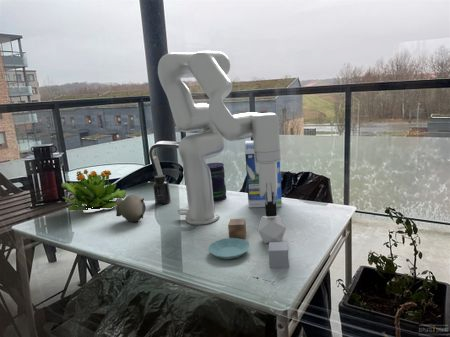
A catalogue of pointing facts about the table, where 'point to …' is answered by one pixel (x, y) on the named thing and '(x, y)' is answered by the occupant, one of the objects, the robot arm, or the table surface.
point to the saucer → (229, 248)
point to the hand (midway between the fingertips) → (271, 215)
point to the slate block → (278, 255)
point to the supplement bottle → (161, 190)
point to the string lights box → (253, 179)
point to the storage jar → (218, 181)
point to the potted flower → (93, 191)
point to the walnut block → (237, 228)
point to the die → (271, 229)
